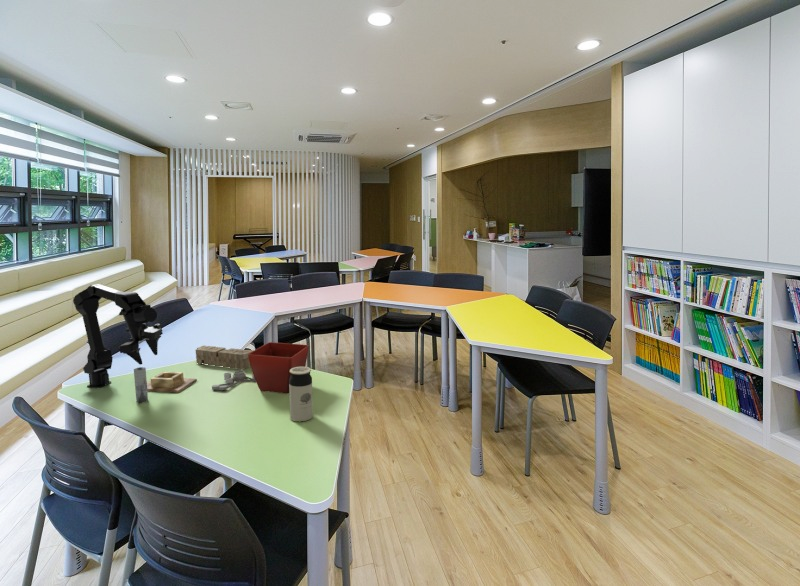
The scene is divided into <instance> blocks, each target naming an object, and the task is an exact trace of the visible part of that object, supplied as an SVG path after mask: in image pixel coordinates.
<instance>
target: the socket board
mask: <svg viewBox="0 0 800 586" xmlns="http://www.w3.org/2000/svg"><path fill="white" fill-rule="evenodd" d="M197 381H198V379H197V378H192V377H191V378H187V377H186V378H185V377H184V372H180V371H179V372H178V371H162V372H161V373H160V372H159V373H158V374H157V375H154V376H153V377H151V378H150V381H147V392H156V391H157V393H158V392H159V393H160V392H161V393H181V392H183V391H184V390H185V389H186V388H189V387H190V386H191V385H193V384H194V383H196V382H197Z"/></svg>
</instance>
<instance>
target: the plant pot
mask: <svg viewBox="0 0 800 586" xmlns="http://www.w3.org/2000/svg"><path fill="white" fill-rule="evenodd" d="M309 347H310V346H309V345H308V344H301V343H299V344H298V343H284V342H273V341H270V342H267V343H265V344H263V345H261V346H259V347H258V348H256V349H255V350H254V351H252V352H251V353H249V354H248V358H249V362H250V366H249V367H250V369H251V372H252V374H253V375H254V378H255V380H256V382H255V383H256V385H257V387H258V389H259V391H260V392H267V393H277V394H290V391H289V378H290V376H291V373H290V369H292V368H295V367H306V364H307V361H308V353H309Z"/></svg>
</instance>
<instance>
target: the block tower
mask: <svg viewBox="0 0 800 586" xmlns="http://www.w3.org/2000/svg"><path fill="white" fill-rule="evenodd" d="M252 351H254V350H253V349H240V348H232V347H231V348H229V349H226V347H220V346H219V347H218V346H212V345H205V344H203V345H201V346H198V347H196V349H195V359H196V364H197V363H198V364H197V365H200V364H202V363H204V364H208V365H215V366H214V367H216V366H223V367H222V368H225V367H230V368H229V369H233V368H237V369H236V370H241V369H243V370H245V369H247V368H249V367H251V366H250V362H249V358H248V354H249V353H251V352H252ZM204 364H202V365H204ZM208 365H207V366H208ZM248 366H249V367H248ZM246 367H247V368H246ZM244 368H245V369H244Z"/></svg>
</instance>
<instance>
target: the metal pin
mask: <svg viewBox="0 0 800 586" xmlns="http://www.w3.org/2000/svg"><path fill="white" fill-rule="evenodd" d="M146 369H147V368H146V367H143V366H142V367H141V366H140V367H136V368H133V376H134V377H133V378H134V390H135V391H134V392H135V400H136V403H137V402H138V403H137V404H143V403H142V402H144V403H146V401H147V402H148V401H149V394H148V393H149V392H148V391H147V383H148V381H147V370H146Z"/></svg>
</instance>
